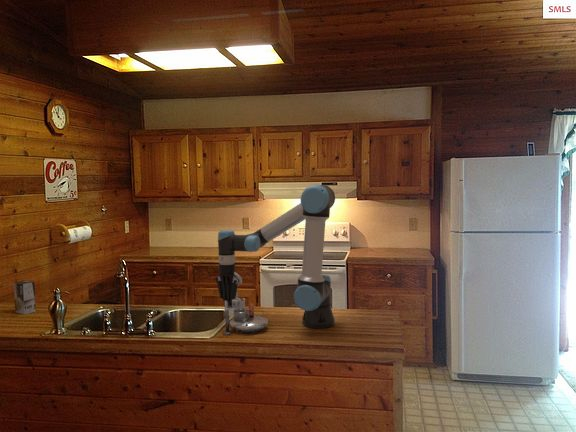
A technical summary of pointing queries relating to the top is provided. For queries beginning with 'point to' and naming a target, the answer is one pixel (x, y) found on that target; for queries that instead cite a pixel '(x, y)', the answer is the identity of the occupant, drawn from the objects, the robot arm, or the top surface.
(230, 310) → the dial stand
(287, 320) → the top surface
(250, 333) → the turntable base
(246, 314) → the cover
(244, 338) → the top surface
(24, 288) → the coffee box
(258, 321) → the turntable
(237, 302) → the engine component
